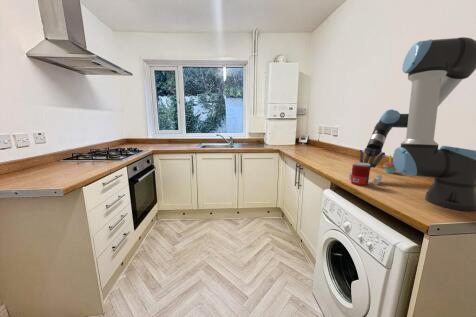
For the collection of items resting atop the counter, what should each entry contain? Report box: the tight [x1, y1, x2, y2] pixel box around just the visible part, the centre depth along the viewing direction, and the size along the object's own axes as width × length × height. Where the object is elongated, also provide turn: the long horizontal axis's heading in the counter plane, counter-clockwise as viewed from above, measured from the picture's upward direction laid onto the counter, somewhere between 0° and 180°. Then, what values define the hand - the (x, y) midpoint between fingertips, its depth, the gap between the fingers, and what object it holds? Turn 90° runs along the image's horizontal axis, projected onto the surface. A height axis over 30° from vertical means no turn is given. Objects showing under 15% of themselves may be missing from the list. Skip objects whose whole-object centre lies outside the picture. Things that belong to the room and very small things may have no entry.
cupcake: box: [382, 154, 397, 174], centre depth 132 cm, size 9×8×12 cm
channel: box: [349, 172, 383, 186], centre depth 114 cm, size 9×13×4 cm
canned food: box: [350, 161, 371, 187], centre depth 107 cm, size 8×8×11 cm
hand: (362, 175), depth 111 cm, fingers closed
